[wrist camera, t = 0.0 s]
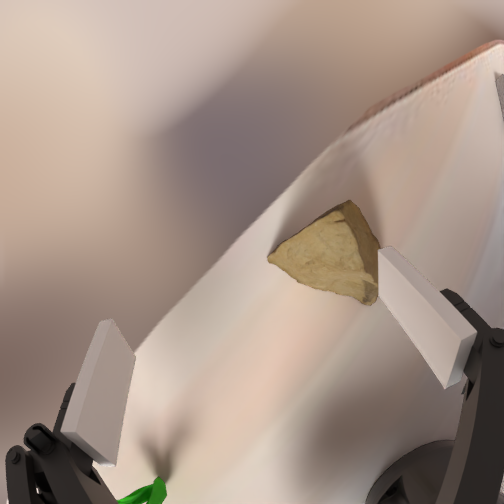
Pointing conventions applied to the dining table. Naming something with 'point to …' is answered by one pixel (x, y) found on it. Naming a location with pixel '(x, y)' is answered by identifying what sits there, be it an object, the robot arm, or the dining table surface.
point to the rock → (334, 254)
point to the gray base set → (501, 91)
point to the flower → (147, 494)
